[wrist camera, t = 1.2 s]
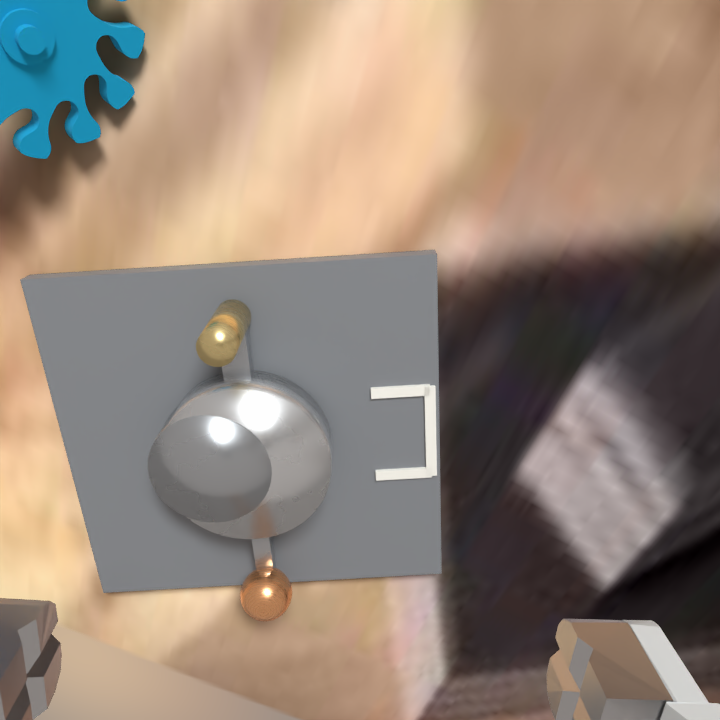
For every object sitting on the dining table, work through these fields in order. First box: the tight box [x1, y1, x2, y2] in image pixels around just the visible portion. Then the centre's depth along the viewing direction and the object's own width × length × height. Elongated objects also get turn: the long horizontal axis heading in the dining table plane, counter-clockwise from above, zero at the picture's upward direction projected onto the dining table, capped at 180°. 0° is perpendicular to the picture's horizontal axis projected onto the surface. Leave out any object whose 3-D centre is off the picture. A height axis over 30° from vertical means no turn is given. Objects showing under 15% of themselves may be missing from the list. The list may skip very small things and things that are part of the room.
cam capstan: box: [148, 299, 332, 621], centre depth 34 cm, size 10×19×5 cm, turn 3°
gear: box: [0, 0, 145, 159], centre depth 27 cm, size 11×6×10 cm
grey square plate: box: [21, 250, 441, 593], centre depth 36 cm, size 21×20×1 cm
